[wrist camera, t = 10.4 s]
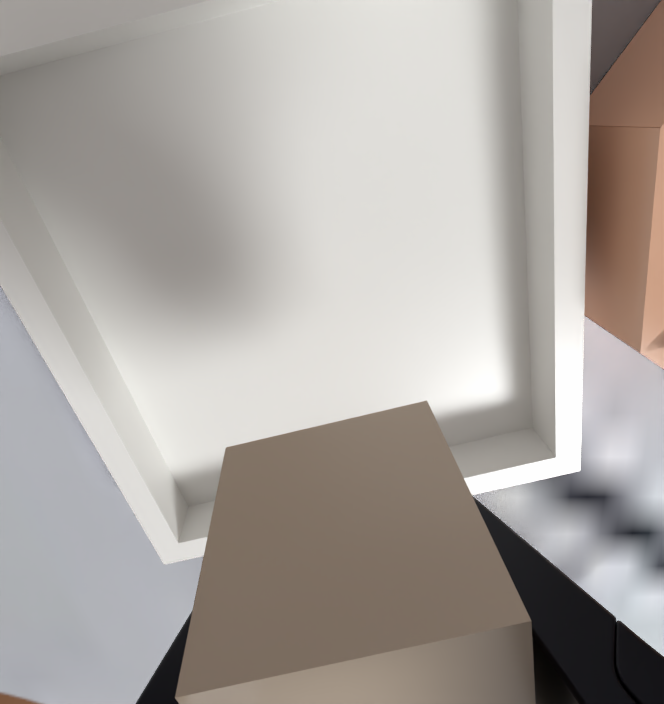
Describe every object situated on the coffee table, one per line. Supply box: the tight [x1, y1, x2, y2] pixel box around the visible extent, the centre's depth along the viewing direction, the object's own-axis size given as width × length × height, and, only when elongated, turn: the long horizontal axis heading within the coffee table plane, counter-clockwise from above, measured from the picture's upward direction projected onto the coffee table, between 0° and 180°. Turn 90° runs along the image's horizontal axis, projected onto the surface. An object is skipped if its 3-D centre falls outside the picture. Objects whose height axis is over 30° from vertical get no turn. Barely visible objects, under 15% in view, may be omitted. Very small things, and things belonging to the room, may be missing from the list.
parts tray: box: [0, 0, 592, 565], centre depth 13 cm, size 14×15×2 cm
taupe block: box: [175, 401, 536, 704], centre depth 8 cm, size 4×5×4 cm
